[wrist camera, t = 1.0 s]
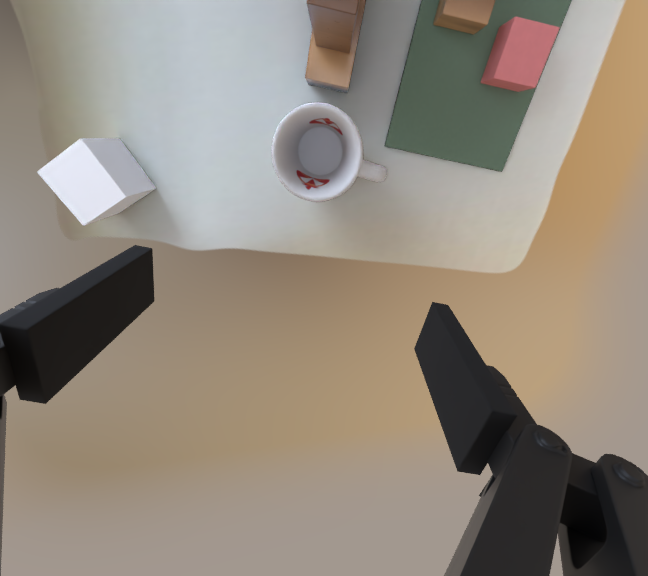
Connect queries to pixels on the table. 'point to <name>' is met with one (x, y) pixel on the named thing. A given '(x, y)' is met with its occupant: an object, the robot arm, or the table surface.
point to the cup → (320, 153)
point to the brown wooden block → (333, 42)
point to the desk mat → (462, 89)
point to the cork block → (464, 14)
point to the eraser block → (519, 54)
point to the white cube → (96, 178)
